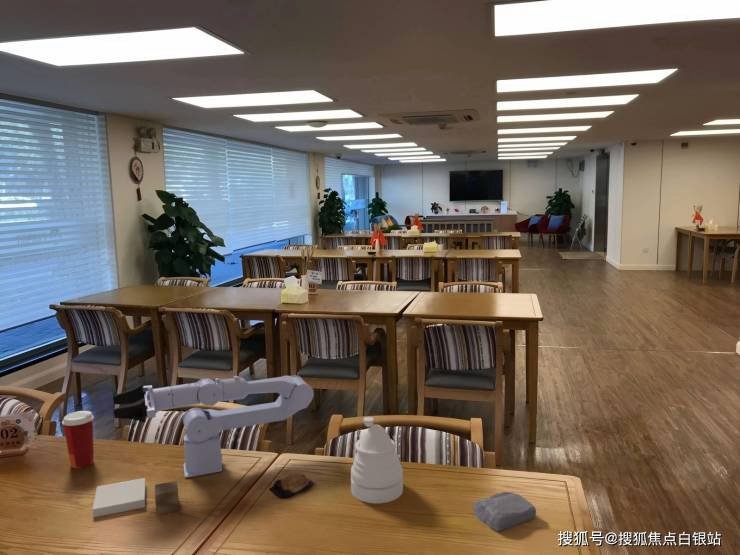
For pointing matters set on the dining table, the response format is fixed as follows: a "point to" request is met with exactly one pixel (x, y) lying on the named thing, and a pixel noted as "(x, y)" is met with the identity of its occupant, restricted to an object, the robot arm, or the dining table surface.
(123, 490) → the stoneware tile
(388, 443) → the honey pot
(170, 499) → the walnut block
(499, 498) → the stone block
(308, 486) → the brown rounded lump
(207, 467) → the robot arm
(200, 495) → the dining table surface
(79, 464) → the paper cup
